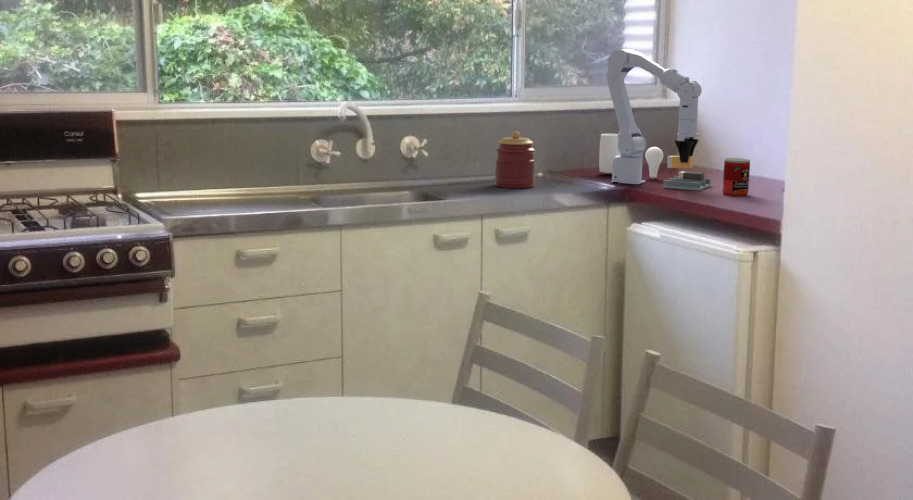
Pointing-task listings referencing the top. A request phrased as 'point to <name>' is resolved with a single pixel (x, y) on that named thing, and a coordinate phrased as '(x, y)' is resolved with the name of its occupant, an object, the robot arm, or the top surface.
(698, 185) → the slot board
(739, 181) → the canned food
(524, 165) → the canister
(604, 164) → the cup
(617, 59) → the robot arm
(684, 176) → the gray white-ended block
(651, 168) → the lightbulb
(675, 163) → the tall orange block
